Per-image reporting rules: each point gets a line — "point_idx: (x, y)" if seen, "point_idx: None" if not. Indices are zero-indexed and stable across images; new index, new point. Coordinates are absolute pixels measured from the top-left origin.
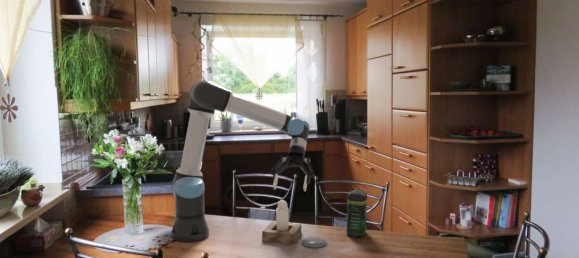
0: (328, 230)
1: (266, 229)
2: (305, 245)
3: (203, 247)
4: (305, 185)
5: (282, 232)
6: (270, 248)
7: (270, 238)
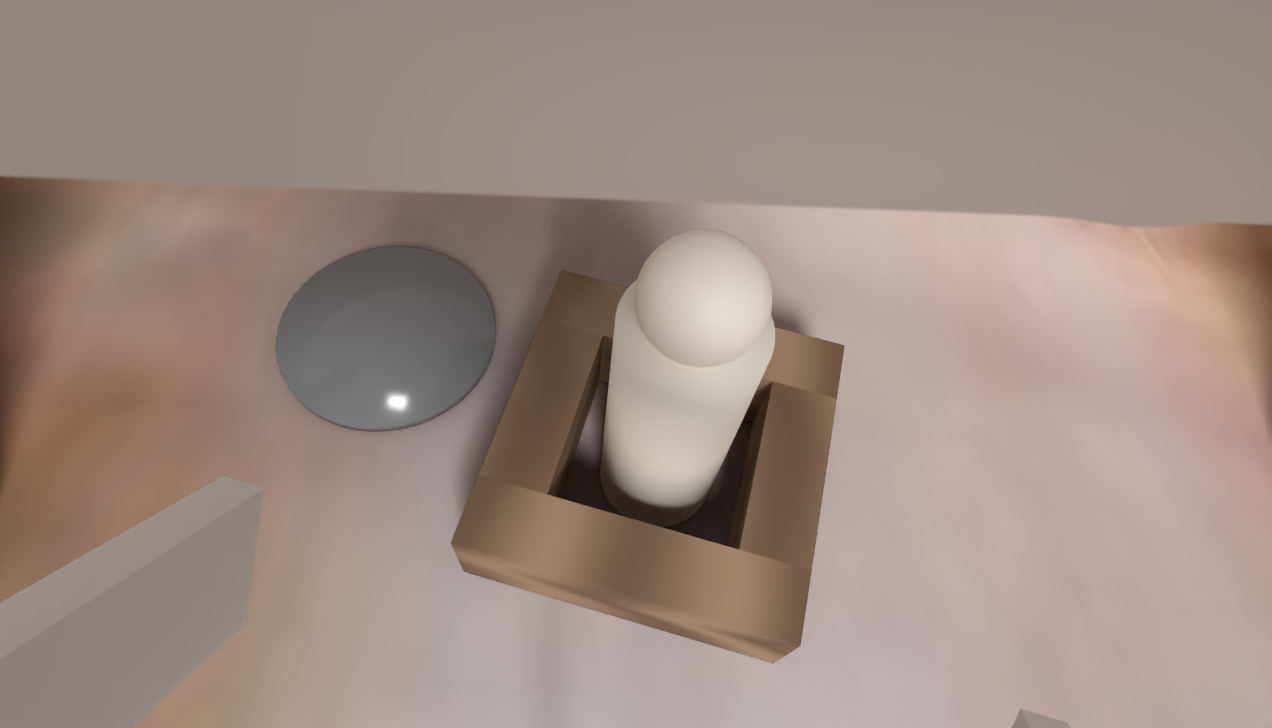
0: None
1: (815, 389)
2: (472, 275)
3: (1192, 289)
4: (159, 527)
5: None
6: None
7: None
